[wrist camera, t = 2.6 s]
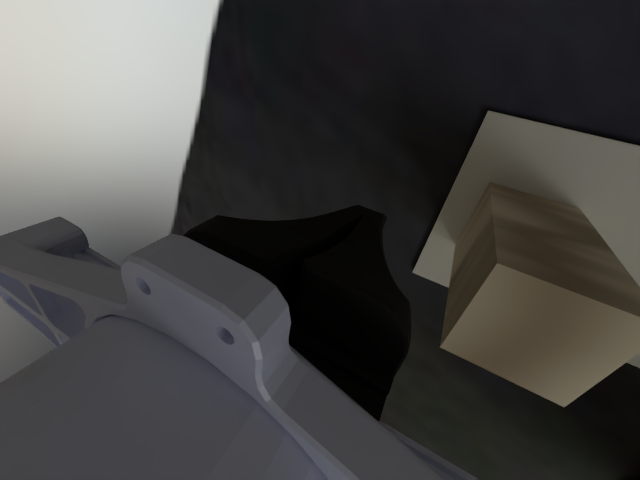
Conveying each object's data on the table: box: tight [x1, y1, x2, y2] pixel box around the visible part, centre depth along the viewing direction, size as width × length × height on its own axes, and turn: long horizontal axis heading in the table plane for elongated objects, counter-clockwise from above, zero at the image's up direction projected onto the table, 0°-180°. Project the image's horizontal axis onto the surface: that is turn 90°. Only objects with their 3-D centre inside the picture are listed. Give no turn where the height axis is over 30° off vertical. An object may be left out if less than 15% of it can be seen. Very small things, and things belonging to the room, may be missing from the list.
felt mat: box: [412, 110, 640, 368], centre depth 14 cm, size 15×10×1 cm, turn 79°
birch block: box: [440, 182, 640, 407], centre depth 12 cm, size 4×4×8 cm
